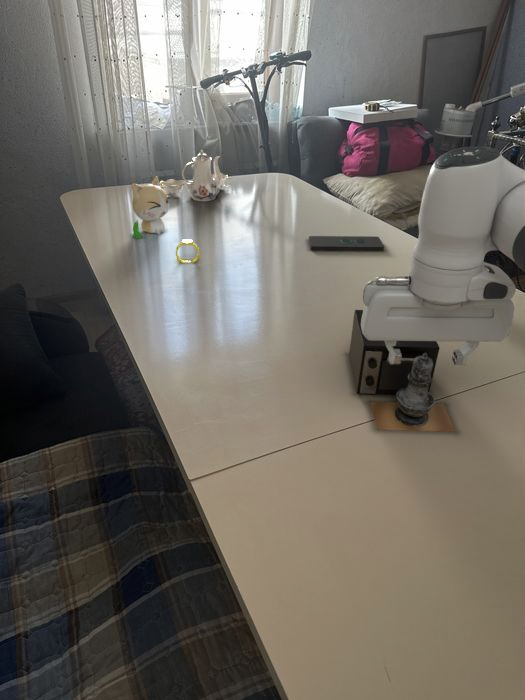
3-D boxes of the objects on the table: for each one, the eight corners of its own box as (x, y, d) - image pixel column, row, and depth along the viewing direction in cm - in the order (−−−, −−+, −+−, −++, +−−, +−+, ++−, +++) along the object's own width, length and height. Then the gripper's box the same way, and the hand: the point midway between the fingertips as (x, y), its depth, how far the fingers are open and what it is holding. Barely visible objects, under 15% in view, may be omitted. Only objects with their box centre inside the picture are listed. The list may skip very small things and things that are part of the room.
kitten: (148, 243, 144) (141, 189, 136) (122, 236, 148) (114, 183, 140) (182, 228, 155) (178, 177, 147) (156, 221, 159) (151, 172, 151)
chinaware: (219, 189, 196) (214, 142, 188) (246, 194, 184) (242, 145, 176) (154, 202, 180) (147, 152, 173) (179, 209, 169) (172, 156, 161)
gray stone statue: (385, 410, 83) (396, 347, 76) (413, 400, 85) (426, 338, 78) (409, 432, 78) (424, 368, 72) (438, 421, 80) (455, 357, 74)
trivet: (443, 406, 84) (443, 404, 84) (454, 433, 79) (455, 431, 79) (370, 404, 85) (370, 401, 84) (376, 431, 79) (376, 428, 79)
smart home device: (384, 246, 139) (311, 246, 139) (383, 252, 140) (310, 252, 140) (378, 235, 146) (308, 235, 146) (377, 241, 147) (308, 241, 147)
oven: (412, 358, 96) (422, 311, 91) (430, 404, 85) (442, 353, 79) (348, 356, 97) (354, 309, 91) (357, 401, 85) (365, 351, 80)
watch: (176, 265, 131) (174, 243, 128) (176, 261, 133) (174, 239, 130) (200, 264, 132) (198, 242, 129) (199, 260, 134) (198, 238, 131)
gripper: (368, 287, 66) (358, 374, 74) (529, 288, 65) (502, 375, 73) (362, 267, 71) (353, 350, 79) (510, 268, 71) (487, 351, 78)
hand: (426, 362), depth 76 cm, fingers open, 8 cm apart
